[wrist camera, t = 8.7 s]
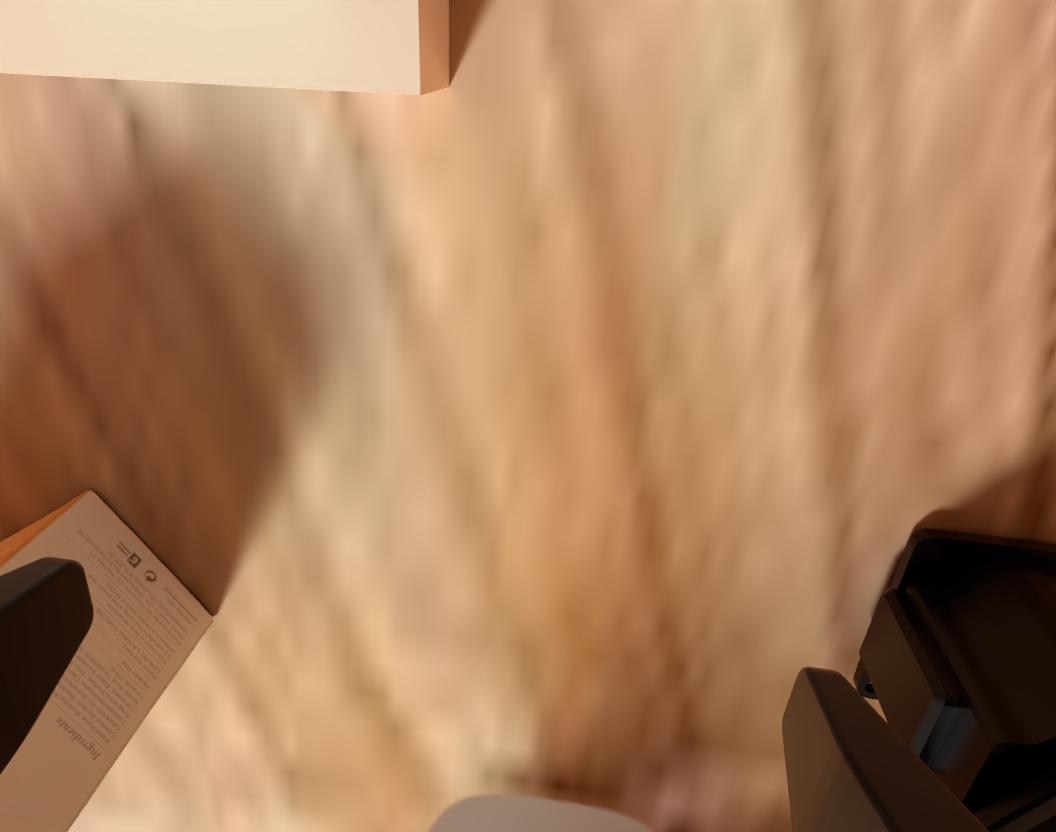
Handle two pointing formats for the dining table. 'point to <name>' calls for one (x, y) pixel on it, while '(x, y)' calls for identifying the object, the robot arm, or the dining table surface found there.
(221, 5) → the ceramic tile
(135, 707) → the small box
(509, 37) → the dining table surface
